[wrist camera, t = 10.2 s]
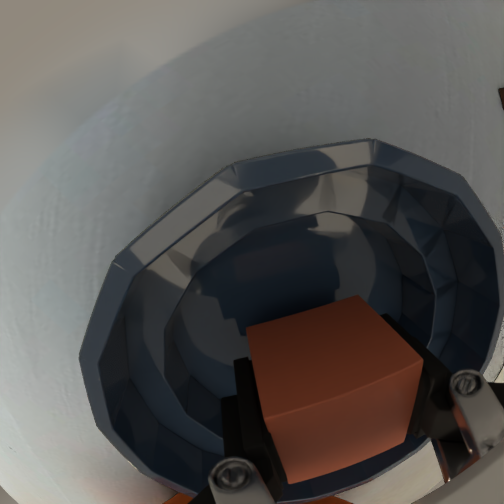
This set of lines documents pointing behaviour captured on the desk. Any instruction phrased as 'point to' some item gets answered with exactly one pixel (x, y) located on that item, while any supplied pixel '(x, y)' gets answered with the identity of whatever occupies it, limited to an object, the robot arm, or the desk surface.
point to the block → (333, 386)
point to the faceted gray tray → (283, 293)
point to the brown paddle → (502, 95)
